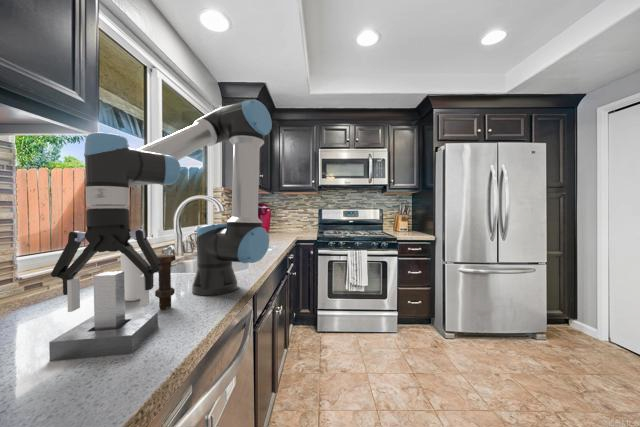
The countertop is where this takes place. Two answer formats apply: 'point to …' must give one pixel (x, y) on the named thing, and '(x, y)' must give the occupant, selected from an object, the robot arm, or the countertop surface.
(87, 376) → the countertop surface
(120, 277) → the peg
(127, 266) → the drinking glass
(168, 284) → the bolt
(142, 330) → the socket block
